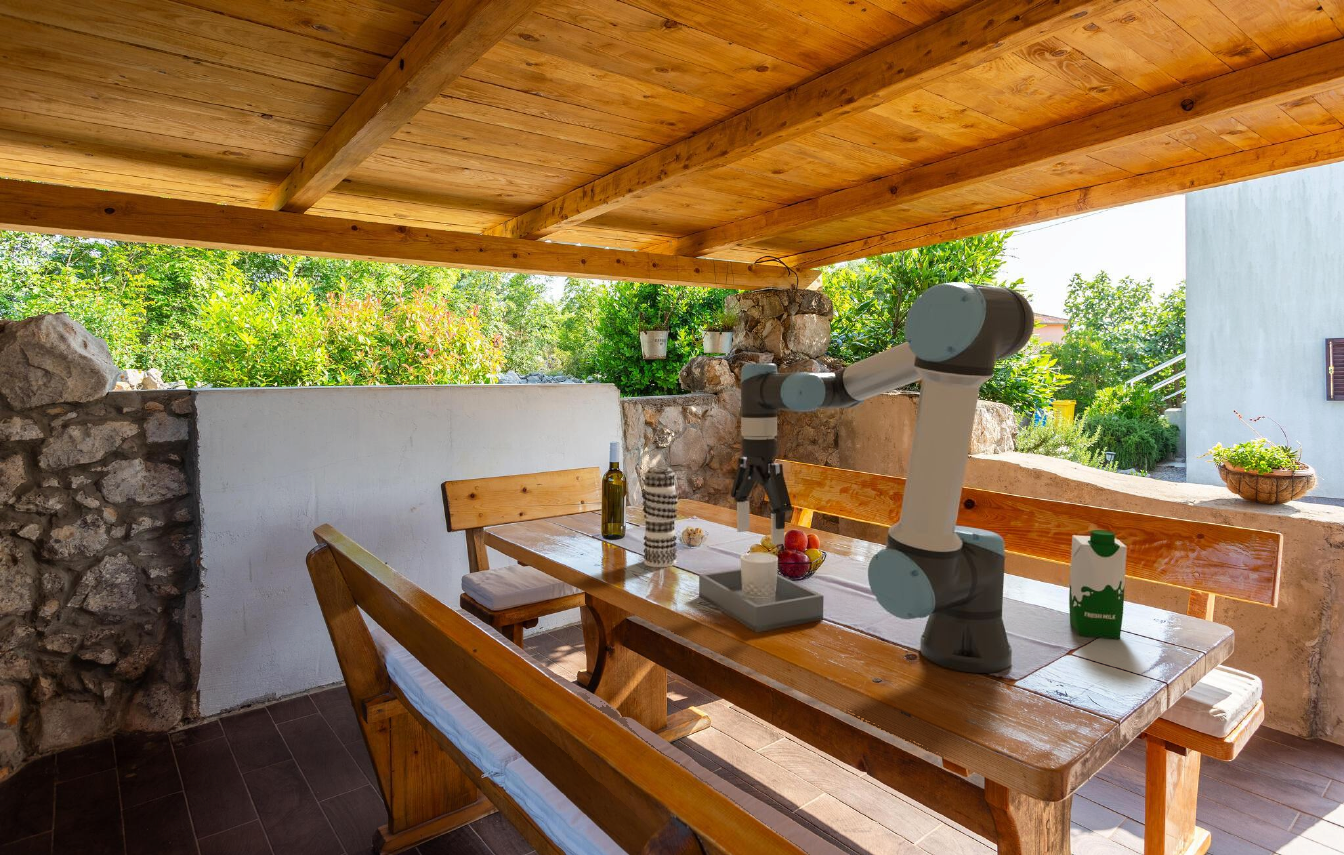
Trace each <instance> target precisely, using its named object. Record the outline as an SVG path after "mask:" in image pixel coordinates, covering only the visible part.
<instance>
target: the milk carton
mask: <svg viewBox="0 0 1344 855" xmlns="http://www.w3.org/2000/svg"><path fill="white" fill-rule="evenodd" d="M1071 538H1072V539H1071V553H1070V555H1071V557H1070V558H1071V559H1070V571H1069V572H1070V574H1069V594H1068V595H1069V597H1068V598H1069V599H1068V601H1069V602H1068V603H1069V604H1068V606H1069V607H1068V608H1069V623H1070V625H1071V626H1072V628H1073V629H1074V630H1075V632H1076V634H1077V635H1078V636H1080V637H1088V638H1089V637H1090V638H1102V639H1114V640H1120V639H1121V635H1122V634H1121V633H1122V624H1123V617H1124V604H1125V603H1124V602H1125V587H1126V586H1125V583H1126V581H1125V580H1126V565H1127V564H1126V562H1127V551H1128V546H1126V545H1125V544H1124V543H1123V542H1122V541H1121V539H1117V538H1116V534H1115V532H1112V531H1109V530H1104V529H1103V530H1102V529H1094V530H1093V529H1092V530H1091V531H1090V534H1089V535H1078V534H1077V535H1075V534H1073V535H1072V536H1071Z"/></svg>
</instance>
